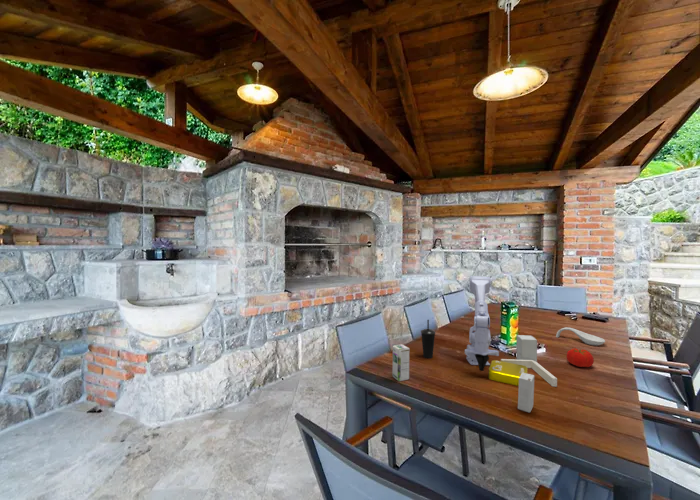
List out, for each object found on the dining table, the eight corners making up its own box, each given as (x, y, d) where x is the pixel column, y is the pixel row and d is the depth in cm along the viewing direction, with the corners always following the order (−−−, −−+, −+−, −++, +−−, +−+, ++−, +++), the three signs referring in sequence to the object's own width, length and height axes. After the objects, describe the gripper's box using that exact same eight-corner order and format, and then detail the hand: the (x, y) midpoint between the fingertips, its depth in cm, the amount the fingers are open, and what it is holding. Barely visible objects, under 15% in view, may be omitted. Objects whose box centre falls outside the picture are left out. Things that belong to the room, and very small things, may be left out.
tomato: (589, 362, 152) (589, 348, 151) (596, 371, 142) (596, 355, 141) (563, 359, 156) (564, 345, 156) (568, 367, 146) (569, 352, 146)
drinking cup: (435, 354, 163) (435, 318, 162) (435, 360, 156) (435, 322, 155) (421, 353, 166) (421, 317, 165) (420, 358, 158) (420, 321, 158)
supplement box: (537, 365, 149) (537, 340, 149) (521, 364, 151) (521, 339, 150) (531, 359, 156) (531, 335, 156) (515, 358, 158) (516, 334, 157)
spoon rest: (606, 344, 178) (606, 332, 178) (603, 349, 170) (603, 336, 170) (559, 335, 195) (559, 324, 195) (554, 339, 187) (554, 327, 187)
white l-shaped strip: (518, 384, 129) (518, 377, 129) (500, 365, 149) (500, 359, 148) (556, 386, 128) (557, 378, 128) (534, 367, 147) (534, 360, 147)
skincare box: (520, 402, 116) (521, 371, 115) (534, 406, 113) (534, 374, 112) (517, 409, 111) (517, 377, 111) (531, 413, 108) (531, 380, 108)
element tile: (526, 388, 127) (526, 377, 127) (487, 380, 135) (487, 369, 135) (527, 375, 140) (527, 365, 139) (492, 367, 148) (492, 358, 147)
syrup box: (391, 376, 138) (391, 345, 138) (402, 374, 141) (402, 343, 140) (398, 381, 133) (398, 349, 132) (409, 379, 135) (409, 347, 135)
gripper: (467, 343, 135) (467, 373, 135) (501, 344, 133) (501, 374, 134) (463, 338, 142) (463, 366, 142) (495, 339, 140) (495, 367, 141)
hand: (481, 370), depth 139 cm, fingers closed
